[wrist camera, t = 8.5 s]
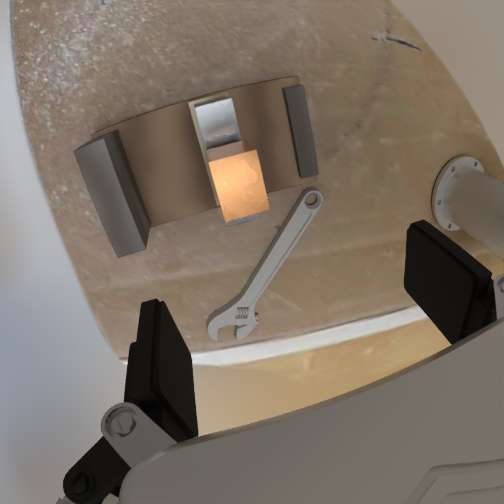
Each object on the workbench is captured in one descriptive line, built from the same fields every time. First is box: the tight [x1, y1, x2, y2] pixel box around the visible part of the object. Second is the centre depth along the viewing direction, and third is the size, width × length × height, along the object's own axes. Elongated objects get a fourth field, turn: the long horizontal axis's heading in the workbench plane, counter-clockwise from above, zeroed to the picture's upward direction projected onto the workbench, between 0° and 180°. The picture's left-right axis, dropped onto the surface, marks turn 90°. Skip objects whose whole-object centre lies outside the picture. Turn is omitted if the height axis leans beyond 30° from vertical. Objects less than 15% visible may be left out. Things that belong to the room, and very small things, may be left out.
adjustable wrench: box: [207, 188, 323, 341], centre depth 43 cm, size 25×6×2 cm, turn 146°
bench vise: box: [74, 76, 319, 258], centre depth 30 cm, size 22×12×8 cm, turn 103°
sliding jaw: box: [194, 96, 270, 227], centre depth 26 cm, size 3×11×12 cm, turn 13°
